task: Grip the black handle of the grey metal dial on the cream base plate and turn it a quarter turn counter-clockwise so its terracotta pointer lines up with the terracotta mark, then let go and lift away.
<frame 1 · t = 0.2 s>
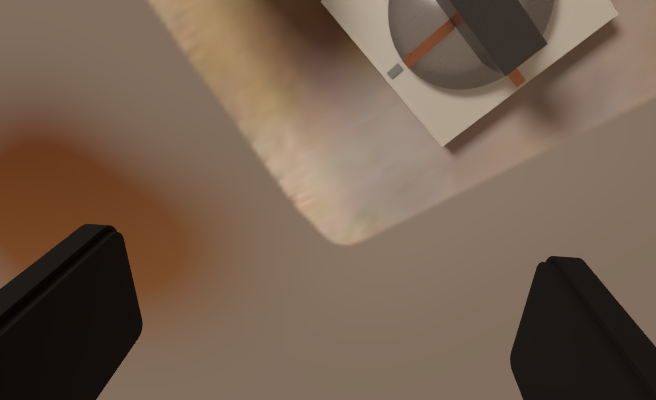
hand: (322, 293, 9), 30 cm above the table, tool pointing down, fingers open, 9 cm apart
dial base: (460, 7, 33), on the table
dial: (477, 8, 28), point 6 cm above the table, hinge at 0.0°
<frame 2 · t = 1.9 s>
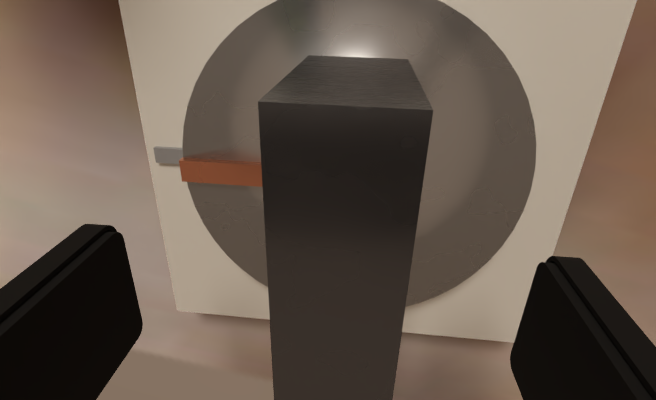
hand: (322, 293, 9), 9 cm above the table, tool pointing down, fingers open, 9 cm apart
dial base: (355, 147, 17), on the table
dial: (346, 213, 12), point 6 cm above the table, hinge at 0.0°
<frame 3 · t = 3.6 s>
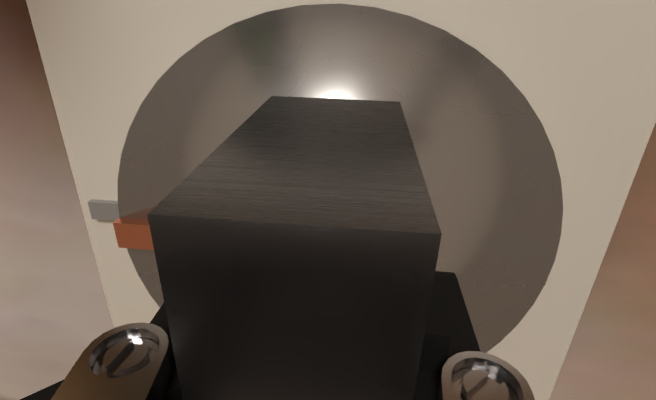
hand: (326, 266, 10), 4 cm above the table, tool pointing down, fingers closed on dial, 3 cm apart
dial base: (338, 195, 14), on the table
dial: (320, 304, 9), point 6 cm above the table, hinge at 0.0°, touching gripper
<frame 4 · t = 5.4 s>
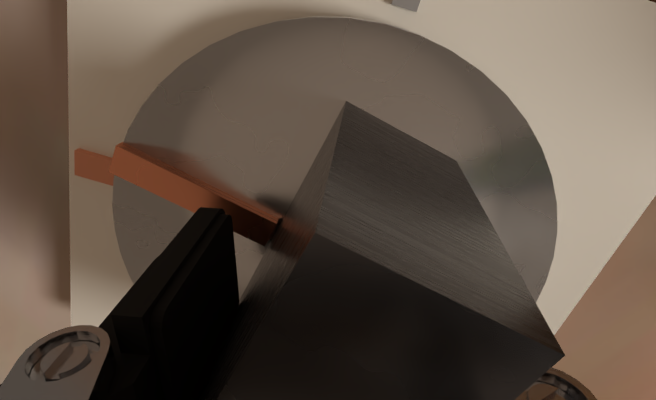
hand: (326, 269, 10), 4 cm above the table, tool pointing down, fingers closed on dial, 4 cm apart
dial base: (334, 203, 14), on the table
dial: (314, 317, 9), point 6 cm above the table, hinge at 78.6°, touching gripper
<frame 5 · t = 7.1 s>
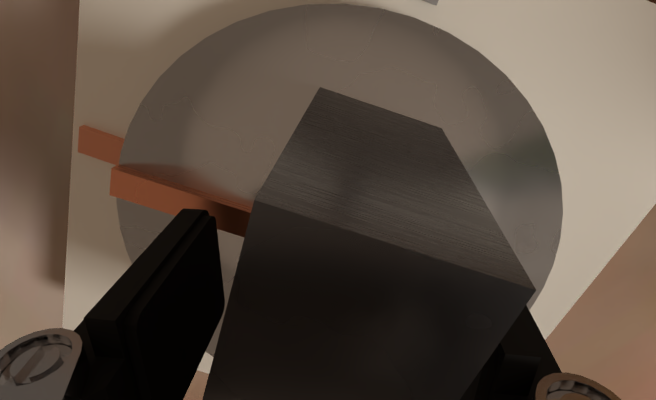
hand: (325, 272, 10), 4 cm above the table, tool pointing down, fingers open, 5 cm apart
dial base: (337, 195, 14), on the table
dial: (319, 305, 9), point 6 cm above the table, hinge at 91.5°
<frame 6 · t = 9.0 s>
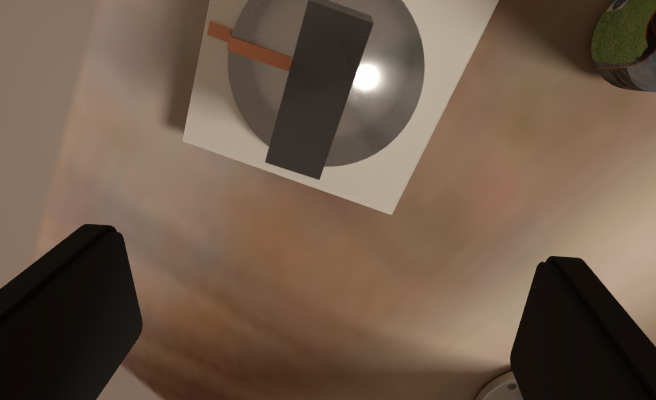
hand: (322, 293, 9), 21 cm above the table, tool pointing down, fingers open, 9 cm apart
dial base: (328, 67, 28), on the table
dial: (321, 84, 23), point 6 cm above the table, hinge at 91.7°
beverage can: (633, 23, 25), on the table
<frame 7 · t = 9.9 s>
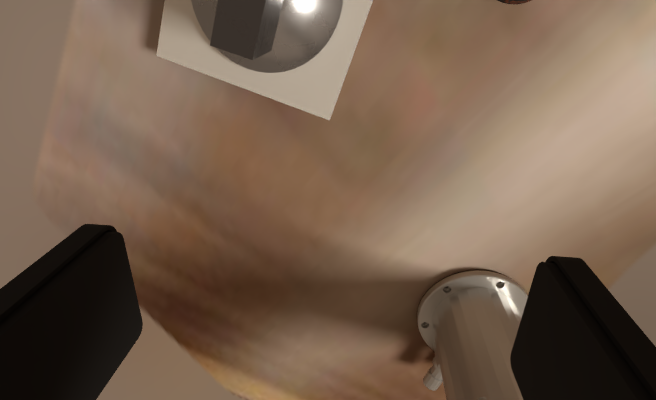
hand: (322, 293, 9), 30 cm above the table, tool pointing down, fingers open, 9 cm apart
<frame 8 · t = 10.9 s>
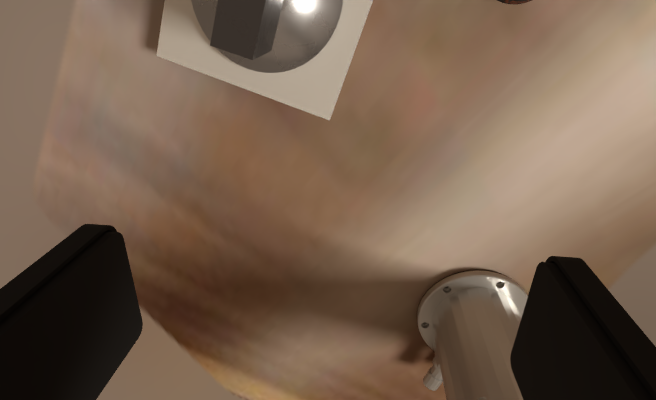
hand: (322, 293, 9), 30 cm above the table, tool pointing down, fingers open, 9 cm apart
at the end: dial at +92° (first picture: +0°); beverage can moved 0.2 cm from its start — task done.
